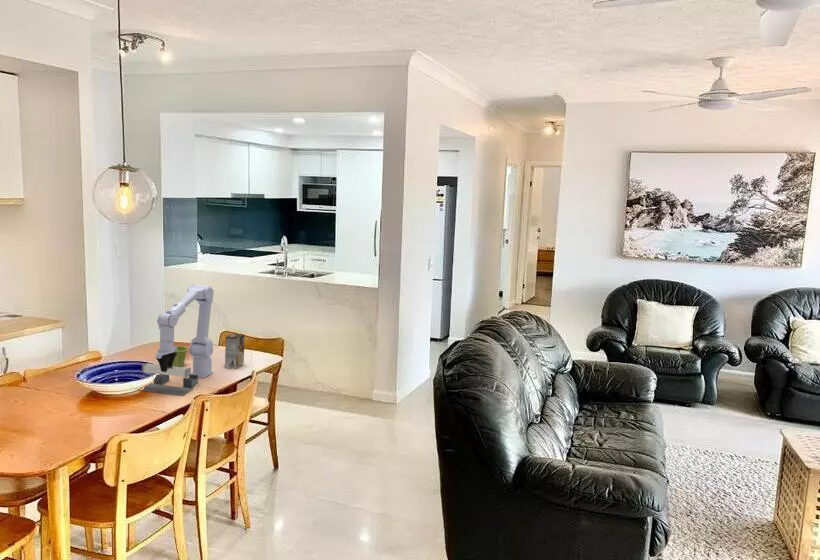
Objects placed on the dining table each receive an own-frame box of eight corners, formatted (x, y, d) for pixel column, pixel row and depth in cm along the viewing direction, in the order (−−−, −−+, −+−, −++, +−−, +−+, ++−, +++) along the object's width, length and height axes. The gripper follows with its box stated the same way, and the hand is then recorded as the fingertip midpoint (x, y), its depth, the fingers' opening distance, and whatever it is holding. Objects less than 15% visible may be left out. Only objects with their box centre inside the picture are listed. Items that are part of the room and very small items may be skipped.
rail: (146, 369, 269) (146, 362, 268) (190, 374, 267) (190, 367, 266) (142, 372, 265) (142, 365, 265) (186, 377, 263) (186, 370, 262)
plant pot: (191, 364, 306) (191, 347, 305) (179, 369, 297) (180, 352, 296) (175, 361, 308) (175, 345, 307) (163, 366, 299) (163, 349, 298)
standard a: (189, 383, 278) (189, 374, 278) (197, 383, 278) (198, 375, 277) (183, 387, 272) (183, 378, 272) (191, 388, 272) (191, 379, 271)
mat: (149, 384, 272) (149, 383, 272) (193, 389, 270) (193, 388, 270) (137, 390, 264) (137, 389, 263) (183, 395, 261) (183, 395, 261)
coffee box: (232, 363, 314) (233, 333, 311) (244, 364, 313) (245, 334, 310) (224, 367, 305) (225, 336, 302) (236, 369, 304) (237, 338, 301)
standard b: (161, 379, 280) (161, 370, 279) (169, 380, 279) (169, 371, 279) (153, 383, 274) (153, 374, 273) (162, 384, 273) (162, 375, 273)
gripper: (166, 335, 271) (166, 364, 273) (149, 343, 257) (148, 373, 259) (181, 337, 270) (181, 366, 272) (164, 344, 256) (164, 375, 258)
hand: (166, 370), depth 266 cm, fingers closed on rail, 4 cm apart
